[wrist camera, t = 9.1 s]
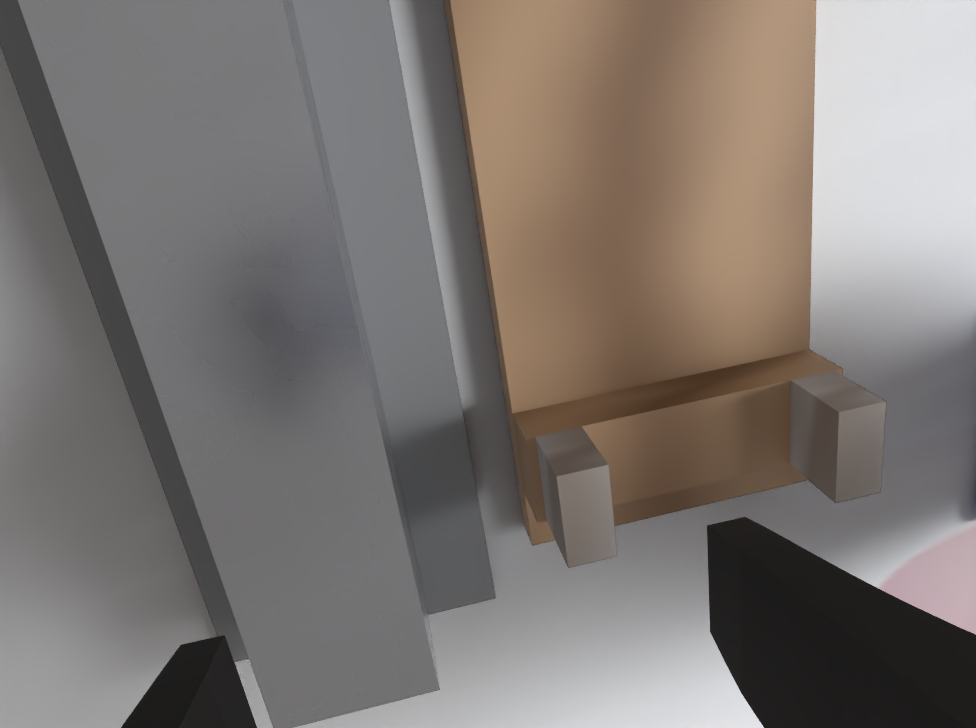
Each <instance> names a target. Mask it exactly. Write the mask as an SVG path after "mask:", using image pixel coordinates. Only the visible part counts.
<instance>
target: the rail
mask: <svg viewBox="0 0 976 728" xmlns="http://www.w3.org/2000/svg"><path fill="white" fill-rule="evenodd" d="M18 2H19V5H20V8H21V11H22V14H23V17H24V19H25V22H26V25H27V28H28V31H29V34H30V37H31V39H32V42H33V45H34V48H35V51H36V54H37V56H38V59H39V62H40V65H41V68H42V71H43V74H44V76H45V79H46V82H47V85H48V88H49V91H50V93H51V96H52V99H53V102H54V105H55V108H56V110H57V113H58V116H59V119H60V122H61V125H62V128H63V130H64V133H65V136H66V139H67V142H68V145H69V147H70V150H71V153H72V156H73V159H74V162H75V165H76V167H77V170H78V173H79V176H80V179H81V182H82V184H83V187H84V190H85V193H86V196H87V199H88V202H89V204H90V207H91V210H92V213H93V216H94V219H95V221H96V224H97V227H98V230H99V233H100V236H101V239H102V241H103V244H104V247H105V250H106V253H107V256H108V258H109V261H110V264H111V267H112V270H113V273H114V276H115V278H116V281H117V284H118V287H119V290H120V293H121V295H122V298H123V301H124V304H125V307H126V310H127V313H128V315H129V318H130V321H131V324H132V327H133V330H134V332H135V335H136V338H137V341H138V344H139V347H140V349H141V352H142V355H143V358H144V361H145V364H146V367H147V369H148V372H149V375H150V378H151V381H152V384H153V386H154V389H155V392H156V395H157V398H158V401H159V404H160V406H161V409H162V412H163V415H164V418H165V421H166V423H167V426H168V429H169V432H170V435H171V438H172V441H173V443H174V446H175V449H176V452H177V455H178V458H179V460H180V463H181V466H182V469H183V472H184V475H185V478H186V480H187V483H188V486H189V489H190V492H191V495H192V497H193V500H194V503H195V506H196V509H197V512H198V515H199V517H200V520H201V523H202V526H203V529H204V532H205V534H206V537H207V540H208V543H209V546H210V549H211V552H212V554H213V557H214V560H215V563H216V566H217V569H218V571H219V574H220V577H221V580H222V583H223V586H224V588H225V591H226V594H227V597H228V600H229V603H230V606H231V608H232V611H233V614H234V617H235V620H236V623H237V625H238V628H239V631H240V634H241V637H242V640H243V643H244V645H245V648H246V651H247V654H248V657H249V660H250V662H251V665H252V668H253V671H254V674H255V677H256V680H257V682H258V685H259V688H260V691H261V694H262V697H263V699H264V702H265V705H266V708H267V711H268V714H269V717H270V719H271V722H272V725H273V728H293V727H297V726H301V725H304V724H308V723H312V722H316V721H320V720H324V719H328V718H332V717H336V716H340V715H343V714H347V713H351V712H355V711H359V710H363V709H367V708H371V707H375V706H378V705H382V704H386V703H390V702H394V701H398V700H402V699H406V698H410V697H413V696H417V695H421V694H425V693H429V692H433V691H437V690H440V687H439V681H438V675H437V668H436V662H435V656H434V649H433V643H432V637H431V631H430V624H429V618H428V612H427V605H426V599H425V593H424V586H423V582H422V577H421V573H420V568H419V564H418V560H417V555H416V551H415V546H414V542H413V537H412V533H411V528H410V524H409V519H408V515H407V510H406V506H405V501H404V497H403V493H402V488H401V484H400V479H399V475H398V470H397V466H396V461H395V457H394V452H393V448H392V443H391V439H390V434H389V430H388V426H387V421H386V417H385V412H384V408H383V403H382V399H381V394H380V390H379V385H378V381H377V376H376V372H375V367H374V363H373V358H372V354H371V350H370V345H369V341H368V336H367V332H366V327H365V323H364V318H363V314H362V309H361V305H360V300H359V296H358V291H357V287H356V283H355V278H354V274H353V269H352V265H351V260H350V256H349V251H348V247H347V242H346V238H345V233H344V229H343V224H342V220H341V216H340V211H339V207H338V202H337V198H336V193H335V189H334V184H333V180H332V175H331V171H330V166H329V162H328V157H327V153H326V149H325V144H324V140H323V135H322V131H321V126H320V122H319V117H318V113H317V108H316V104H315V99H314V95H313V90H312V86H311V81H310V77H309V73H308V68H307V64H306V59H305V55H304V50H303V46H302V41H301V37H300V32H299V28H298V23H297V19H296V14H295V10H294V6H293V1H292V0H18Z"/></svg>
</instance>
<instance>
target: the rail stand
mask: <svg viewBox="0 0 976 728" xmlns="http://www.w3.org/2000/svg"><path fill="white" fill-rule="evenodd" d="M444 6H445V12H446V19H447V25H448V32H449V38H450V45H451V51H452V58H453V64H454V71H455V77H456V84H457V90H458V97H459V103H460V110H461V116H462V123H463V129H464V136H465V142H466V149H467V155H468V162H469V168H470V175H471V181H472V188H473V194H474V201H475V207H476V214H477V221H478V227H479V234H480V240H481V247H482V253H483V260H484V266H485V273H486V279H487V286H488V292H489V299H490V305H491V312H492V318H493V325H494V331H495V338H496V344H497V351H498V357H499V364H500V370H501V377H502V383H503V390H504V396H505V403H506V409H507V416H508V422H509V429H510V436H511V442H512V449H513V455H514V462H515V468H516V475H517V481H518V488H519V494H520V501H521V507H522V514H523V520H524V526H525V529H526V531H527V534H528V536H529V539H530V541H531V544H532V546H533V545H537V544H541V543H546V542H550V541H554V540H556V542H557V544H558V547H559V549H560V551H561V553H562V555H563V557H564V560H565V562H566V564H567V566H568V568H571V567H575V566H579V565H583V564H587V563H591V562H596V561H600V560H604V559H608V558H612V557H616V556H617V548H616V538H615V528H614V526H617V525H621V524H625V523H630V522H634V521H638V520H642V519H646V518H651V517H655V516H659V515H663V514H667V513H672V512H676V511H680V510H684V509H689V508H693V507H697V506H701V505H705V504H710V503H714V502H718V501H722V500H726V499H731V498H735V497H739V496H743V495H747V494H752V493H756V492H760V491H764V490H768V489H773V488H777V487H781V486H785V485H789V484H794V483H798V482H802V481H806V480H807V479H808V480H809V481H810V482H811V483H813V484H814V485H815V486H816V487H817V488H818V489H820V490H821V491H822V492H823V493H824V494H825V495H827V496H828V497H829V498H830V499H831V500H832V501H834V502H835V503H839V502H843V501H847V500H851V499H855V498H859V497H863V496H867V495H871V494H876V493H880V491H881V475H882V460H883V444H884V428H885V413H886V401H885V400H883V399H881V398H879V397H878V396H876V395H874V394H873V393H871V392H869V391H868V390H866V389H864V388H863V387H861V386H859V385H857V384H856V383H854V382H852V381H851V380H849V379H847V378H846V377H844V376H843V369H842V368H841V367H839V366H837V365H836V364H834V363H832V362H830V361H829V360H827V359H825V358H823V357H822V356H820V355H818V354H816V353H815V352H813V351H811V350H809V340H810V289H811V238H812V187H813V137H814V86H815V35H816V0H444Z"/></svg>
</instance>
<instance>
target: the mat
mask: <svg viewBox="0 0 976 728" xmlns="http://www.w3.org/2000/svg"><path fill="white" fill-rule="evenodd" d="M292 1H293V6H294V10H295V14H296V19H297V23H298V28H299V32H300V37H301V41H302V46H303V50H304V55H305V59H306V64H307V68H308V73H309V77H310V81H311V86H312V90H313V95H314V99H315V104H316V108H317V113H318V117H319V122H320V126H321V131H322V135H323V140H324V144H325V149H326V153H327V157H328V162H329V166H330V171H331V175H332V180H333V184H334V189H335V193H336V198H337V202H338V207H339V211H340V216H341V220H342V224H343V229H344V233H345V238H346V242H347V247H348V251H349V256H350V260H351V265H352V269H353V274H354V278H355V283H356V287H357V291H358V296H359V300H360V305H361V309H362V314H363V318H364V323H365V327H366V332H367V336H368V341H369V345H370V350H371V354H372V358H373V363H374V367H375V372H376V376H377V381H378V385H379V390H380V394H381V399H382V403H383V408H384V412H385V417H386V421H387V426H388V430H389V434H390V439H391V443H392V448H393V452H394V457H395V461H396V466H397V470H398V475H399V479H400V484H401V488H402V493H403V497H404V501H405V506H406V510H407V515H408V519H409V524H410V528H411V533H412V537H413V542H414V546H415V551H416V555H417V560H418V564H419V568H420V573H421V577H422V582H423V586H424V593H425V599H426V605H427V612H428V615H429V614H433V613H437V612H441V611H445V610H449V609H453V608H457V607H462V606H466V605H470V604H474V603H478V602H482V601H486V600H490V599H494V598H496V596H495V591H494V585H493V579H492V574H491V568H490V563H489V557H488V552H487V546H486V540H485V535H484V529H483V524H482V518H481V512H480V507H479V501H478V496H477V490H476V484H475V479H474V473H473V468H472V462H471V457H470V451H469V445H468V440H467V434H466V429H465V423H464V417H463V412H462V406H461V401H460V395H459V390H458V384H457V378H456V373H455V367H454V362H453V356H452V350H451V345H450V339H449V334H448V328H447V322H446V317H445V311H444V306H443V300H442V295H441V289H440V283H439V278H438V272H437V267H436V261H435V255H434V250H433V244H432V239H431V233H430V228H429V222H428V216H427V211H426V205H425V200H424V194H423V188H422V183H421V177H420V172H419V166H418V160H417V155H416V149H415V144H414V138H413V133H412V127H411V121H410V116H409V110H408V105H407V99H406V93H405V88H404V82H403V77H402V71H401V65H400V60H399V54H398V49H397V43H396V38H395V32H394V26H393V21H392V15H391V10H390V4H389V0H292ZM0 45H1V48H2V51H3V53H4V56H5V59H6V62H7V64H8V67H9V70H10V72H11V75H12V78H13V81H14V83H15V86H16V89H17V92H18V94H19V97H20V100H21V102H22V105H23V108H24V111H25V113H26V116H27V119H28V121H29V124H30V127H31V130H32V132H33V135H34V138H35V141H36V143H37V146H38V149H39V151H40V154H41V157H42V160H43V162H44V165H45V168H46V171H47V173H48V176H49V179H50V181H51V184H52V187H53V190H54V192H55V195H56V198H57V200H58V203H59V206H60V209H61V211H62V214H63V217H64V220H65V222H66V225H67V228H68V230H69V233H70V236H71V239H72V241H73V244H74V247H75V249H76V252H77V255H78V258H79V260H80V263H81V266H82V269H83V271H84V274H85V277H86V279H87V282H88V285H89V288H90V290H91V293H92V296H93V298H94V301H95V304H96V307H97V309H98V312H99V315H100V318H101V320H102V323H103V326H104V328H105V331H106V334H107V337H108V339H109V342H110V345H111V348H112V350H113V353H114V356H115V358H116V361H117V364H118V367H119V369H120V372H121V375H122V377H123V380H124V383H125V386H126V388H127V391H128V394H129V397H130V399H131V402H132V405H133V407H134V410H135V413H136V416H137V418H138V421H139V424H140V426H141V429H142V432H143V435H144V437H145V440H146V443H147V446H148V448H149V451H150V454H151V456H152V459H153V462H154V465H155V467H156V470H157V473H158V476H159V478H160V481H161V484H162V486H163V489H164V492H165V495H166V497H167V500H168V503H169V505H170V508H171V511H172V514H173V516H174V519H175V522H176V525H177V527H178V530H179V533H180V535H181V538H182V541H183V544H184V546H185V549H186V552H187V554H188V557H189V560H190V563H191V565H192V568H193V571H194V574H195V576H196V579H197V582H198V584H199V587H200V590H201V593H202V595H203V598H204V601H205V604H206V606H207V609H208V612H209V614H210V617H211V620H212V623H213V625H214V628H215V631H216V633H217V636H223V635H225V637H226V640H227V643H228V646H229V649H230V651H231V654H232V657H233V660H234V662H237V661H241V660H245V659H249V657H248V654H247V651H246V648H245V645H244V643H243V640H242V637H241V634H240V631H239V628H238V625H237V623H236V620H235V617H234V614H233V611H232V608H231V606H230V603H229V600H228V597H227V594H226V591H225V588H224V586H223V583H222V580H221V577H220V574H219V571H218V569H217V566H216V563H215V560H214V557H213V554H212V552H211V549H210V546H209V543H208V540H207V537H206V534H205V532H204V529H203V526H202V523H201V520H200V517H199V515H198V512H197V509H196V506H195V503H194V500H193V497H192V495H191V492H190V489H189V486H188V483H187V480H186V478H185V475H184V472H183V469H182V466H181V463H180V460H179V458H178V455H177V452H176V449H175V446H174V443H173V441H172V438H171V435H170V432H169V429H168V426H167V423H166V421H165V418H164V415H163V412H162V409H161V406H160V404H159V401H158V398H157V395H156V392H155V389H154V386H153V384H152V381H151V378H150V375H149V372H148V369H147V367H146V364H145V361H144V358H143V355H142V352H141V349H140V347H139V344H138V341H137V338H136V335H135V332H134V330H133V327H132V324H131V321H130V318H129V315H128V313H127V310H126V307H125V304H124V301H123V298H122V295H121V293H120V290H119V287H118V284H117V281H116V278H115V276H114V273H113V270H112V267H111V264H110V261H109V258H108V256H107V253H106V250H105V247H104V244H103V241H102V239H101V236H100V233H99V230H98V227H97V224H96V221H95V219H94V216H93V213H92V210H91V207H90V204H89V202H88V199H87V196H86V193H85V190H84V187H83V184H82V182H81V179H80V176H79V173H78V170H77V167H76V165H75V162H74V159H73V156H72V153H71V150H70V147H69V145H68V142H67V139H66V136H65V133H64V130H63V128H62V125H61V122H60V119H59V116H58V113H57V110H56V108H55V105H54V102H53V99H52V96H51V93H50V91H49V88H48V85H47V82H46V79H45V76H44V74H43V71H42V68H41V65H40V62H39V59H38V56H37V54H36V51H35V48H34V45H33V42H32V39H31V37H30V34H29V31H28V28H27V25H26V22H25V19H24V17H23V14H22V11H21V8H20V5H19V2H18V0H0Z"/></svg>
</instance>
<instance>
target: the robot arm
mask: <svg viewBox="0 0 976 728" xmlns="http://www.w3.org/2000/svg"><path fill="white" fill-rule="evenodd" d="M707 537H708V572H709V606H710V632H711V634H712V636H713V638H714V640H715V642H716V644H717V646H718V648H719V650H720V652H721V654H722V656H723V658H724V661H725V663H726V665H727V667H728V668H729V670H730V672H731V674H732V676H733V678H734V680H735V682H736V684H737V686H738V687H739V689H740V691H741V693H742V695H743V696H744V698H745V699H746V701H747V702H748V704H749V705H750V707H751V708H752V710H753V712H754V713H755V715H756V716H757V718H758V719H759V721H760V722H761V724H762V725H763V727H764V728H976V635H975V634H973V633H971V632H968V631H966V630H964V629H961V628H959V627H957V626H955V625H953V624H950V623H948V622H946V621H944V620H942V619H940V618H938V617H935V616H933V615H931V614H929V613H927V612H925V611H923V610H921V609H918V608H916V607H914V606H912V605H910V604H908V603H906V602H904V601H902V600H900V599H898V598H896V597H894V596H892V595H890V594H888V593H886V592H884V591H882V590H880V589H878V588H876V587H874V586H872V585H870V584H868V583H866V582H864V581H863V580H861V579H859V578H857V577H855V576H853V575H851V574H849V573H847V572H846V571H844V570H842V569H840V568H838V567H836V566H834V565H833V564H831V563H829V562H827V561H825V560H823V559H822V558H820V557H818V556H816V555H814V554H813V553H811V552H809V551H807V550H805V549H803V548H802V547H800V546H798V545H796V544H794V543H793V542H791V541H789V540H787V539H785V538H784V537H782V536H780V535H778V534H776V533H775V532H773V531H771V530H769V529H767V528H765V527H763V526H762V525H760V524H758V523H756V522H754V521H752V520H750V519H748V518H746V517H743V518H739V519H734V520H730V521H725V522H721V523H717V524H712V525H708V526H707ZM121 728H257V727H256V724H255V721H254V718H253V715H252V712H251V709H250V706H249V704H248V701H247V698H246V695H245V692H244V689H243V686H242V683H241V680H240V678H239V675H238V672H237V669H236V666H235V663H234V660H233V657H232V654H231V651H230V649H229V646H228V643H227V640H226V637H225V635H223V636H218V637H214V638H209V639H205V640H201V641H196V642H192V643H187V644H183V645H180V647H179V648H178V650H177V651H176V652H175V654H174V655H173V656H172V658H171V659H170V660H169V662H168V663H167V664H166V666H165V667H164V668H163V670H162V671H161V673H160V674H159V675H158V677H157V678H156V680H155V681H154V682H153V684H152V685H151V687H150V688H149V689H148V691H147V692H146V694H145V695H144V696H143V698H142V699H141V701H140V702H139V703H138V705H137V706H136V708H135V709H134V710H133V712H132V713H131V715H130V716H129V717H128V719H127V720H126V721H125V723H124V724H123V726H122V727H121Z"/></svg>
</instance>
